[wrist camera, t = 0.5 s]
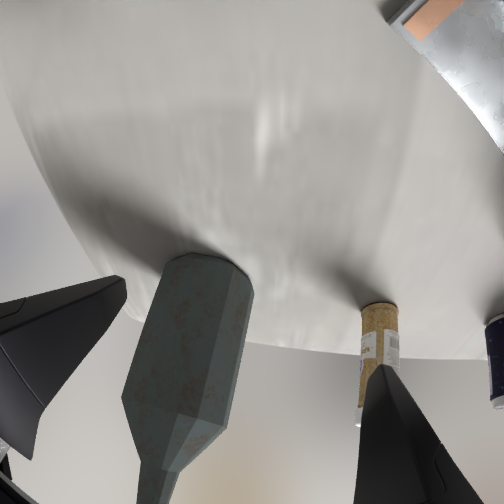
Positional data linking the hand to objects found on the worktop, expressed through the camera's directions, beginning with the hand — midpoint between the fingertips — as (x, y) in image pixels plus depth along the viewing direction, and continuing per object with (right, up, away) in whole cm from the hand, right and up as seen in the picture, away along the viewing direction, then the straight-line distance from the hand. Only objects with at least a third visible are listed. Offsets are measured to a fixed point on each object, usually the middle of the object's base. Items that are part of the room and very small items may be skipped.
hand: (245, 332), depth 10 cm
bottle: (-4, 0, +25) cm, 25 cm away
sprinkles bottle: (+15, -4, +24) cm, 29 cm away
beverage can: (+34, -6, +22) cm, 41 cm away
